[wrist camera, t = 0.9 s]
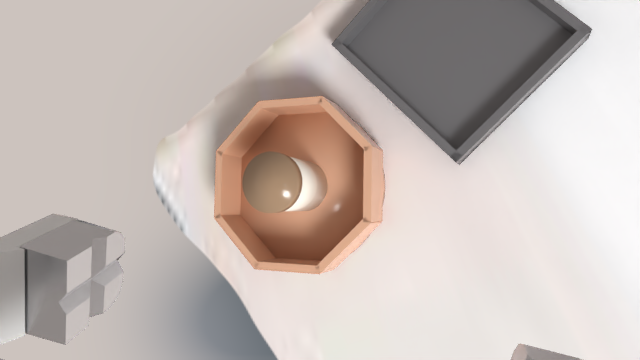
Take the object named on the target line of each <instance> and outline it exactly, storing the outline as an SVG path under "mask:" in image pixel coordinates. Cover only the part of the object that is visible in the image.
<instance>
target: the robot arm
mask: <svg viewBox="0 0 640 360" xmlns="http://www.w3.org/2000/svg"><path fill="white" fill-rule="evenodd" d="M124 253H125V238H124V236H123V235H122V233H121V232H118V231H115V230H111V229H108V228H105V227H101V226H98V225H95V224H91V223H88V222H85V221H81V220H78V219H75V218H71V217H67V216H63V215H58V214H51V215H49V216H47V217H45V218H43V219H40V220H38V221H36V222H34V223H31V224H29V225H27V226H25V227H23V228H20V229H18V230H16V231H14V232H11V233H9V234H7V235H5V236H3V237H0V345H1V344H4V343H6V342H9V341H12V340H14V339H17V338H20V337H22V336H25V333H26V334H30V335H33V336H37V337H40V338H43V339H47V340H50V341H54V342H57V343H61V344H65V345H66V344H67V343H68V342H69V341H70V340H72V339H73V338H74V337H75V336H77V335H78V334H79V333H80V332H81V331H83V330H84V329H85V328H86V327H87V326H88V325H89V317H92V316H95V315H99V314H102V313H104V312H105V311H106V310H107V309H109V308H110V307H111V306H112V305H113V303H114V302H115V300H116V298H117V297H118V295H119V293H120V290H121V287H122V283H123V269H122V268H121V266H120V264H119V262H118V259H119V258H120V257H121V256H122V255H123V254H124ZM0 360H3V359H0ZM511 360H583V359H579V358H576V357H572V356H568V355H564V354H560V353H556V352H552V351H548V350H544V349H540V348H536V347H532V346H528V345H524V344H518V346H517V347H516V349H515V350H514V352H513V355H512V358H511Z"/></svg>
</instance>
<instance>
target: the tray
mask: <svg viewBox="0 0 640 360" xmlns="http://www.w3.org/2000/svg"><path fill="white" fill-rule="evenodd" d="M591 30H592V29H591V28H590V27H589V26H587V25H586V24H585V23H583V22H582V21H581V20H579V19H578V18H577V17H575V16H574V15H573V14H571V13H570V12H569V11H567V10H566V9H564V8H563V7H562V6H560V5H559V4H558V3H556V2H555V1H554V0H369V2H368V3H367V4H366V5H365V6H364V7H363V9H362V10H361V11H360V12H359V13H358V14H357V15H356V17H355V18H354V19H353V20H352V21H351V22H350V24H349V25H348V26H347V27H346V28H345V29H344V31H343V32H342V33H341V34H340V35H339V36H338V37H337V39H336V40H335V41H334V42H333V43H332V45H333V46H334V47H335V48H336V49H337V50H338V51H339V52H340V53H341V54H342V55H343V56H344V57H345V58H346V59H347V60H349V61H350V62H351V63H352V64H353V65H354V66H355V67H356V68H357V69H358V70H359V71H360V72H361V73H362V74H363V75H364V76H365V77H366V78H368V79H369V80H370V81H371V82H372V83H373V84H374V85H375V86H376V87H377V88H378V89H379V90H380V91H381V92H382V93H383V94H384V95H385V96H386V97H388V98H389V99H390V100H391V101H392V102H393V103H394V104H395V105H396V106H397V107H398V108H399V109H400V110H401V111H402V112H403V113H404V114H405V115H407V116H408V117H409V118H410V119H411V120H412V121H413V122H414V123H415V124H416V125H417V126H418V127H419V128H420V129H421V130H422V131H423V132H424V133H426V134H427V135H428V136H429V137H430V138H431V139H432V140H433V141H434V142H435V143H436V144H437V145H438V146H439V147H440V148H441V149H442V150H443V151H445V152H446V153H447V154H448V155H449V156H450V157H451V158H452V159H453V160H454V161H455V162H456V163H457V164H459V165H460V164H461V163H462V162H463V161H464V160H465V159H466V158H467V157H468V156H469V155H470V154H471V153H472V152H473V151H474V150H475V149H476V148H477V147H478V146H479V145H480V144H481V143H482V142H483V141H484V140H485V139H486V138H487V137H488V136H489V135H490V134H491V133H492V132H493V131H494V130H495V129H496V128H497V127H498V126H499V125H500V124H501V123H502V122H503V121H505V120H506V119H507V118H508V117H509V116H510V115H511V114H512V113H513V112H514V111H515V110H516V109H517V108H518V107H519V106H520V105H521V104H522V103H523V102H524V101H525V100H526V99H527V98H528V97H529V96H530V95H531V94H532V93H533V92H534V91H535V90H536V89H537V88H538V87H539V86H540V85H541V84H542V83H543V82H544V81H545V80H546V79H547V78H548V77H549V76H550V75H551V74H552V73H554V72H555V71H556V70H557V69H558V68H559V67H560V66H561V65H562V64H563V63H564V62H565V61H566V60H567V59H568V58H569V57H570V56H571V55H572V54H573V53H574V52H575V51H576V50H577V49H578V48H579V47H580V46H581V45H582V44H583V43H584V42H585V41H586V40H587V39H588V38H589V35H590V33H591Z"/></svg>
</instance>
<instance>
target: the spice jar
mask: <svg viewBox="0 0 640 360" xmlns="http://www.w3.org/2000/svg"><path fill="white" fill-rule="evenodd" d="M242 185H243V192H244V195H245V197H246V199H247V201H248V202H249V204H250V205H251V206H252V207H253V208H255V209H256V210H258V211H260V212H264V213H280V212H283V211H310V210H313V209H315V208H316V207H318V206H319V205H320V204H321V203H322V201H323V200H324V198H325V196H326V193H327V187H328V184H327V178H326V175H325V173H324V171H323V170H322V169H321V168H320V167H319V166H318V165H317V164H315V163H313V162H310V161H306V160H301V159H297V158H292V157H289V156H287V155H285V154H282V153H278V152H271V151H269V152H263V153H261V154H259V155H257V156H255V157H254V158H253V159H252V160H251V161H250V162H249V164H248V165H247V167H246V169H245V171H244V175H243V181H242Z"/></svg>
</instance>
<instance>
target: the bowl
mask: <svg viewBox="0 0 640 360" xmlns="http://www.w3.org/2000/svg"><path fill="white" fill-rule="evenodd" d="M269 151H271V152H278V153H282V154H285V155H287V156H289V157H292V158H297V159H301V160H306V161H310V162H313V163H315V164H317V165H318V166H319V167H320V168H321V169H322V170H323V171H324V173H325V175H326V178H327V184H328V187H327V193H326V196H325V198H324V200H323V201H322V203H321V204H320V205H319V206H318V207H316V208H315V209H313V210H310V211H283V212H280V213H264V212H260V211H258V210H256V209H255V208H253V207H252V206H251V205H250V204H249V202H248V201H247V199H246V197H245V195H244V192H243V185H242V181H243V175H244V171H245V169H246V167H247V165H248V164H249V162H250V161H251V160H252V159H253V158H254V157H255V156H257V155H259V154H261V153H263V152H269ZM384 195H385V175H384V170H383V151H382V149H381V148H380V147H379V146H378V145H377V144H376V143H375V142H374V141H373V140H372V139H371V138H370V137H369V136H368V134H367V133H366V132H365V131H364V130H363V129H362V128H361V127H360V126H359V125H358V124H357V123H356V122H354V121H353V120H352V119H351V118H350V117H349V116H348V115H347V114H346V113H345V112H344V111H343V110H342V109H341V108H340V107H339V106H338V105H337V104H335V103H334V102H332V101H330V100H328V99H327V98H325V97H323V96H316V97H303V98H290V99H277V100H264V101H258V102H257V103H256V105H255V106H254V107H253V108H252V109H251V110H250V112H249V113H248V114H247V115H246V116H245V117H244V119H243V120H242V121H241V122H240V123H239V125H238V126H237V127H236V128H235V129H234V130H233V132H232V133H231V134H230V135H229V136H228V137H227V139H226V140H225V141H224V142H223V143H222V145H221V146H220V147H219V148H218V149H217V150H216V169H215V204H214V219H215V220H216V221H217V222H218V224H219V225H220V226H221V227H222V229H223V230H224V231H225V232H226V234H227V235H228V236H229V238H230V239H231V240H232V241H233V243H234V244H235V245H236V246H237V248H238V249H239V250H240V251H241V253H242V254H243V255H244V257H245V258H246V259H247V260H248V262H249V263H250V264H251V265H252V267H253V268H254V269H258V270H271V271H284V272H298V273H311V274H321V273H324V272H327V271H330V270H334V269H335V268H336V267H337V266H338V265H339V264H340V263H341V262H342V261H343V260H344V259H345V258H346V257H347V256H348V255H349V254H351V253H352V252H354V251H355V250H356V249H357V248H358V247H359V246H361V244H362V243H363V242H364V241H365V240H366V239H367V238H368V236H369V235H370V233H371V232H372V231H373V230H374V229H375V228H376V227H377V226H378V225H379V224H380V223H381V221H382V206H383V201H384Z"/></svg>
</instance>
